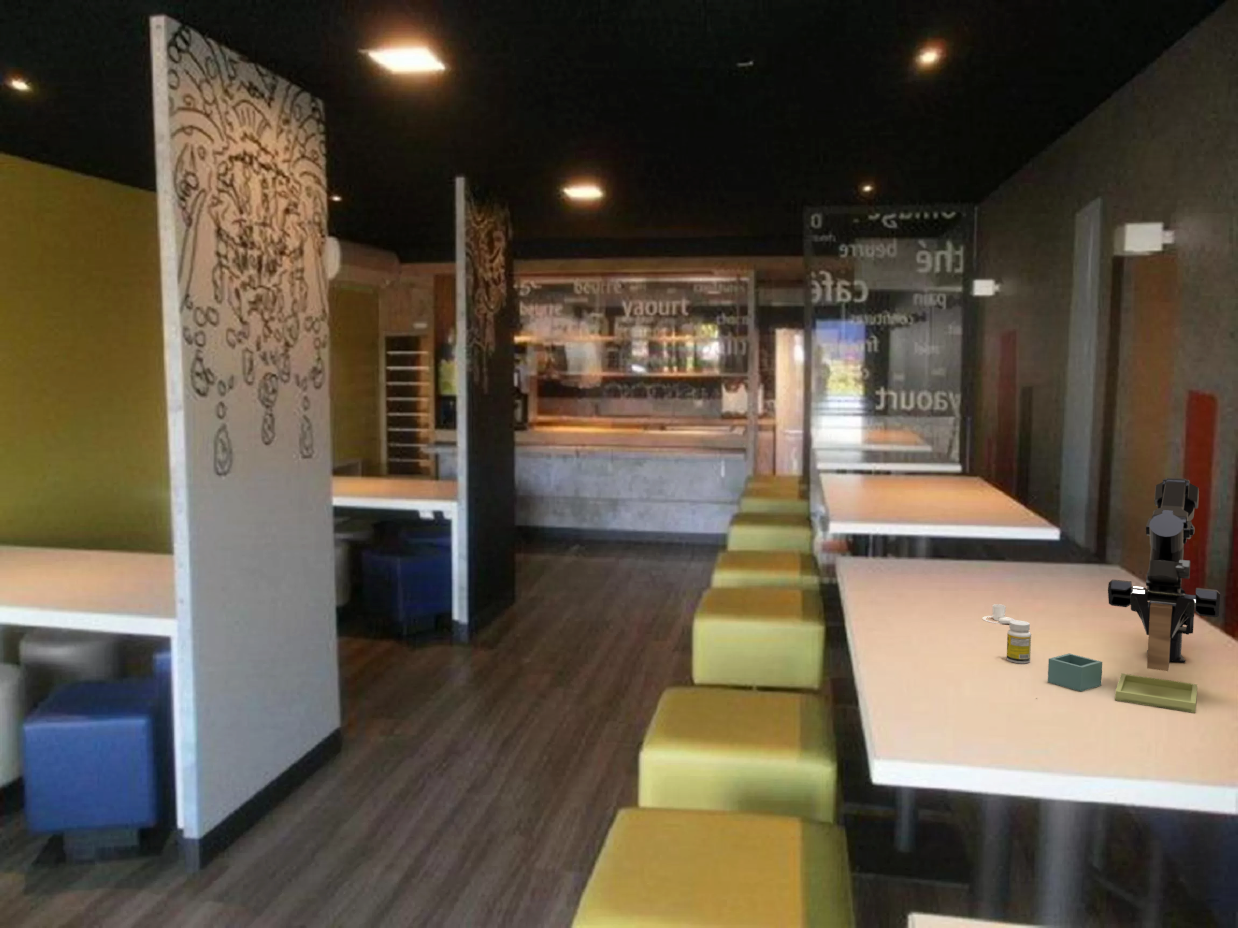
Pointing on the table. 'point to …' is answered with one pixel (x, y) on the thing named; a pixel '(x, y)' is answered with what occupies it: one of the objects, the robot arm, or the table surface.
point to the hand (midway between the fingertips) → (1159, 635)
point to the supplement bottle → (1019, 642)
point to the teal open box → (1075, 672)
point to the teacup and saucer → (999, 614)
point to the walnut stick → (1159, 636)
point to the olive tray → (1157, 692)
